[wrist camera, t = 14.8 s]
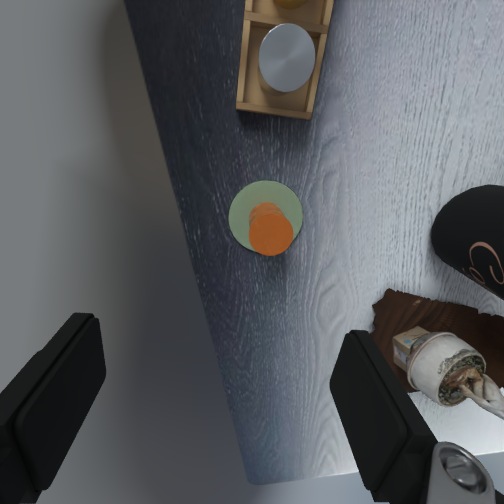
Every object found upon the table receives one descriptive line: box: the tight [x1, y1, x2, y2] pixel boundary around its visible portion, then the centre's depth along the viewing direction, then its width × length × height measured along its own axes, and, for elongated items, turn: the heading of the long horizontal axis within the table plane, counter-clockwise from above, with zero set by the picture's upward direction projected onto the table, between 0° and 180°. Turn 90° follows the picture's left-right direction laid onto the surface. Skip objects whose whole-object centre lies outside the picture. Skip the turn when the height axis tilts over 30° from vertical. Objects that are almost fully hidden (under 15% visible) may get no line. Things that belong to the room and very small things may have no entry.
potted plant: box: [370, 288, 504, 420], centre depth 35 cm, size 20×19×25 cm
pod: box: [249, 202, 293, 256], centre depth 30 cm, size 5×5×6 cm
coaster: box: [229, 180, 303, 252], centre depth 33 cm, size 9×9×1 cm
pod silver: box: [257, 23, 315, 96], centre depth 24 cm, size 5×5×6 cm
